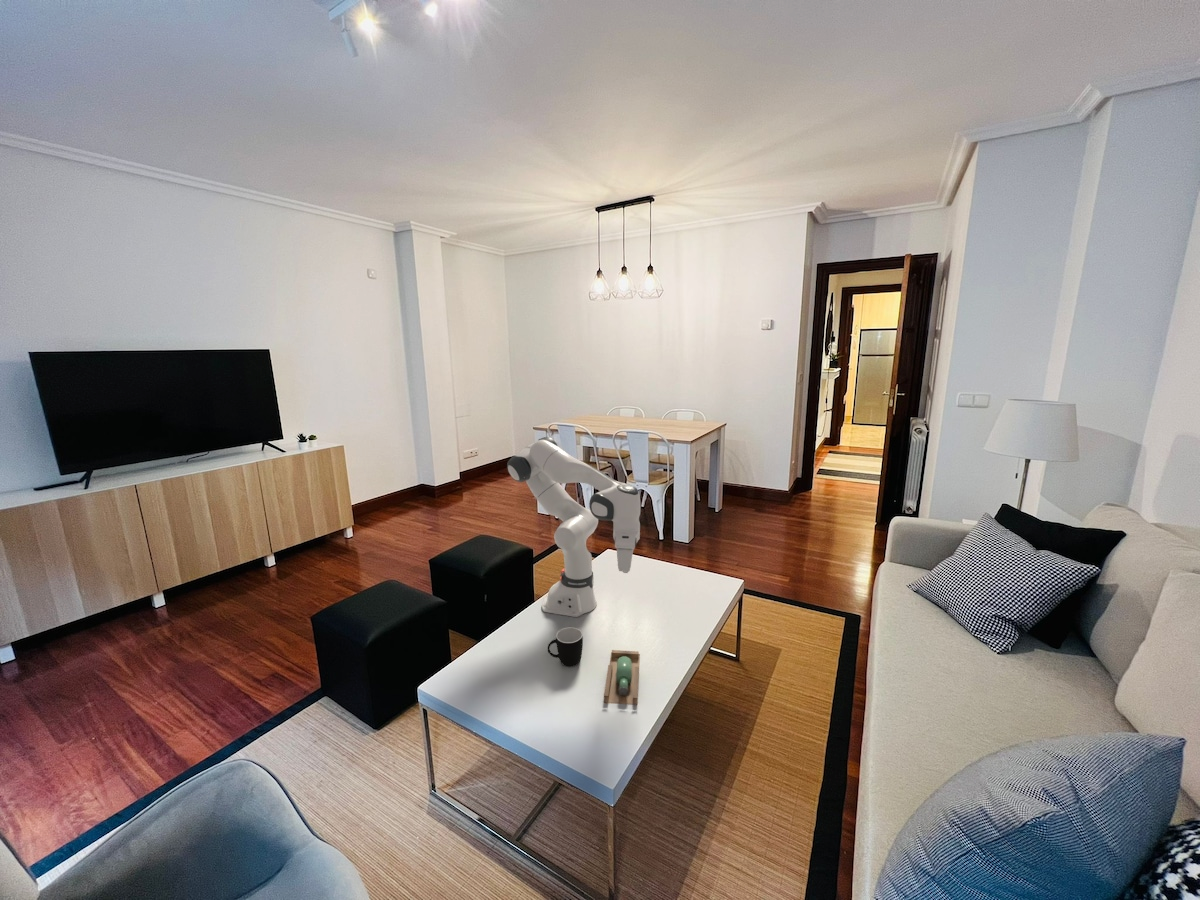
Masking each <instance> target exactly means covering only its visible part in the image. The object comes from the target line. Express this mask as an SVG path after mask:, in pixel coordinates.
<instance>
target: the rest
mask: <svg viewBox="0 0 1200 900" xmlns="http://www.w3.org/2000/svg"><path fill="white" fill-rule="evenodd" d="M639 652H640V651H638V650H637V651H635V650H616V649H611V652H610V660H609V664H608V666H607V670H606V671H607V672H606V678H605V685H604V692H603V703H605V704H607V703H608V704H618V705H621V704H622V705H631V706H632V705H633V706H638V697H639V678H640V659H641V653H639ZM623 656H626V657H628V658H630V659H631V662H632V680H631V683H630V684H629V685H628V695H627V696H625V697H623V696H620V695H619V684H618V683H617V681H616V674H617V660H618V659H619V658H620V657H623Z"/></svg>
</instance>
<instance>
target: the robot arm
mask: <svg viewBox="0 0 1200 900" xmlns="http://www.w3.org/2000/svg"><path fill="white" fill-rule="evenodd" d="M506 465H507V466H506V469H507V472H508V473H509V475H510V476H511V478H512V479H513V480H515V481H516V482H518V483H524V482H525V483H526V485H527V486H528V489H529V490H530V492H531V493H532V495H533V496H534V498H535V499H536V501H538V503H539V504H540V505H541V507H542V508H543V509H544V511H546V513H547V514H548V515H550V516H554V517H556V518H558V519H560V520H561V521H562V522H561V523H560V525H559V526H558V527H557V528H556V530H555V532H554V535H553V537H554V542H555V545H557V547H558V548H559V549H561V551H562V554H563V561H564V568H562V569H561V571H560V576H559V580H558V581H557V582H555V583H553V585H552V586H551V587H550V588H549V590H548V593H547V595H548V596H547V595H545V596H544V598H543V600H542V603H541V611H543V612H544V613H549V614H555V615H561V616H566V617H573V618H579V617H580V616H582V615H583V614H586V613H590V612H592V611H594V609H595V608H596V607H597V600H596V596H595V592H594V583H595V582H594V572H593V558H592V557H593V556H592V553H591V552H590V551H589V550H588V547H587V540H588V538H589V537H590V536H591V535H592V534H594V532H595V530H597V528H598V524H599V520H600V521H608V522H609V521H612V522H613V527H612V528H613V533H612V536H613V541H614V548H616V558H617V559H616V560H617V568H618V571H619V572H622V573H623V574H628V573H629V572H630V571H631V567H632V561H633V553H634V550H635V549H636V546H637V543H638V542H639V540H640V539H641V538H640V537H641V536H640V535H641V532H640V531H641V523H640V516H641V495H640V492H639V490H638V488H637V487H635V486H633V485H631V484H627V483H625V482H621V481H617V480H615V479H614V478H612V477H610V476H609V475H607V474H605V473H604V472H603V471H601V470H599V469H598V468H596V467H594V466H592V465H591V464H589V463H586V462H584V461H582V460H580V459H578V458H576V457H574V456H572V455H571V454H570V453H568V452H566V451H565V450H564V449H563V448H561V447H560V446H559V445H558V443H557V442H556V441H555V440H554V439H553V438H552V437H548V436H545V437H542V438H539V439H538V440H536V441H534V442H532V443H530V444H528V445H527V446H525V447H524V448H523V449H522V450H520V451H519V452H518V453H517V454H516V455H513V456H512V457H511V458H510V459H509V460H508V461H507V464H506ZM576 483H577V484H579V483H580V484H586V485H589V486H592V487H593V488H594V489H596V490H598V492H596V493H594V494H592V495H591V497H590V498H589V506H588V507H589V508H586V507H584V506H583V505H581V504H580V503H579V502H577V501H576V500H575V499H573V498H572V497H571V495H570V494H569V493H568V492H567V491H566V490H565V488H564V487H563V486H562V485H561V484H564V485H565V484H576Z"/></svg>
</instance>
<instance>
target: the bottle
mask: <svg viewBox="0 0 1200 900" xmlns="http://www.w3.org/2000/svg"><path fill="white" fill-rule="evenodd" d="M631 680H632V662H631V659H630V658H628V657H626V656H623V657H620V658H619V659H618V660H617V674H616V681H617V683H618V684H619V695H620V696H623V697H625V696H627V695H628V685H629V684H630V683H631Z"/></svg>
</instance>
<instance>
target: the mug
mask: <svg viewBox="0 0 1200 900" xmlns="http://www.w3.org/2000/svg"><path fill="white" fill-rule="evenodd" d="M583 636H584V635H583V632H582V630H581V629H579V628H577V627H572V626H569V627H563V628H561V629H559V630H558V631H557V632H556V634H555V639H553V640H551V641H550V642H549V643H548V644H547V652H548V654H549V655H550V656H551V657H552V658H556V659H558V660H559V662H560V664H561V665H563V666H564V667H567V668H571V667H575V666H577V665H579V664H580V662H581V659H582V654H583V646H584V645H583V643H584V637H583ZM553 644H556V650H557V653H556V654H554V653H553V652H552V651H551V650H550V648H551V646H552V645H553Z"/></svg>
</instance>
